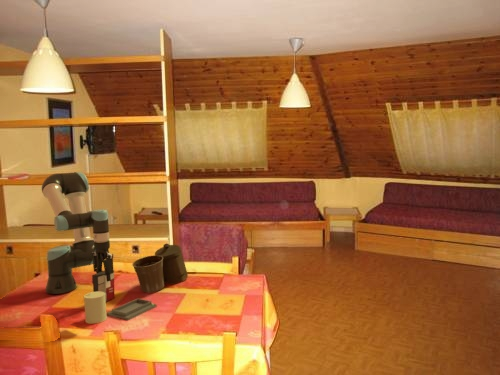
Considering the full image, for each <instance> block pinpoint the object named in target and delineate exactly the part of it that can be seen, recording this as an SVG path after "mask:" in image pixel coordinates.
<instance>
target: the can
mask: <svg viewBox="0 0 500 375" xmlns="http://www.w3.org/2000/svg"><path fill="white" fill-rule="evenodd" d="M83 303H84V316H85V317H84V318H85V319H84V320H85V323H86V324H90V325H91V324H99V323H102V322H104V321H106V320H107V319H108V315H107V304H106V303H107V302H106V301H105V292H102V291H96V292H93V291H90V292H88V293H86V294H84V295H83Z"/></svg>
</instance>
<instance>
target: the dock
mask: <svg viewBox="0 0 500 375" xmlns="http://www.w3.org/2000/svg"><path fill="white" fill-rule="evenodd" d="M155 308H157V304H156V303H153V302H152V300H147V299H143V298H136V299H134V300H130V301H129V302H127V303H124V304H122V305H121V304H120V305H119V306H116V307H115V308H113V309H111V310H109V311H106V315H107V316H111V317H115V318H119V319H122V320H126V321H131V320H132V319H134V318H136V317H138V316H139V315H143V314H144V313H146V312H149V311H151V310H153V309H155Z"/></svg>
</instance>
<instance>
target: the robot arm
mask: <svg viewBox="0 0 500 375" xmlns="http://www.w3.org/2000/svg"><path fill="white" fill-rule="evenodd" d="M89 188H90V185H89V180H88V178H87V176H86V174H85V173H84V172H80V171H78V172H75V171H73V172H62V173H59V172H58V173H53V174H50V175H48V176H47V177H46V178H45V179H44V181H43V182H42V185H41V193H42V195H43V196H44V197H45V198H46V199H47V200H48V202H49V205H50V207H51V209H52V211H53V213H54V219H53V220H54V221H53V224H54V228H55V230H56V231H57V232H61V231H64V232H65V231H70V230H71V231H73V238H74V241H73V242H72V246H70V244H64V245H63V244H62V245H57V246H54V247H52V248H50V249H48V251H47V253H46V260H47V261H46V262H47V272H48V273H47V274H48V278H47V281H46V286H45V293H47V294H50V295H57V294H64V293H68V292H72V291H74V290H75V289H77V281H76V280H75V277H74V275H73V271H72V270H73V269H76V268H83V267H87V266H92V267H93V272H95V274H97V273H100V272H102V271H103V268H104V271H105V275H104V277H105V288H108V287H111V285H110V280H111V277H110V274H112V273H113V270H114V254H113V253H110V251H109V249H110V247H111V245H110V242H111V241H110V238H111V237H110V225H109V212H108V210H107V209H105V208H104V209H103V208H99V209H94V210H90V211H87V206H86V199H85V197H86V195H87V192H88V191H89V190H90V189H89ZM65 198H66V199H65ZM66 200H67V201H68V202H67V201H66ZM90 228H92V234H93V235H92V236H91V230H90Z"/></svg>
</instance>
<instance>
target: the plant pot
mask: <svg viewBox="0 0 500 375" xmlns="http://www.w3.org/2000/svg"><path fill="white" fill-rule="evenodd" d="M157 256H159V255H155V254H154V255H148V256H143V257H141V258H140V257H139V259H136V260H135V261H133V262H132V264H131V266H132V267H133V268H134V271H135V273H136V276H137V279H138V282H139V285H140V290H141V291H142V292H144V293H147V294H150V293H151V294H152V293H156V292H158V291H161V290H163V289H164V287H165V283H164V276H163V257H162V256H160V259H158V258H157Z"/></svg>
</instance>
